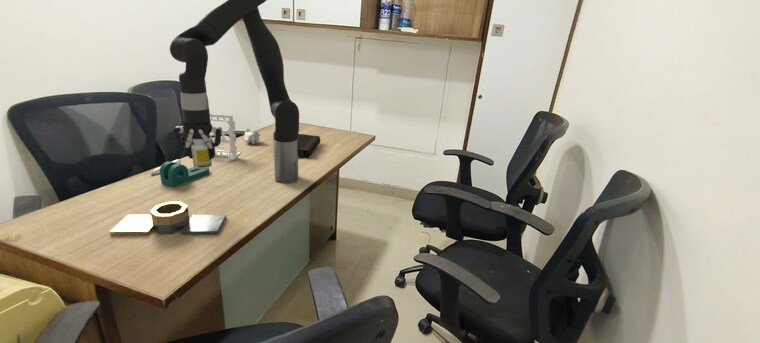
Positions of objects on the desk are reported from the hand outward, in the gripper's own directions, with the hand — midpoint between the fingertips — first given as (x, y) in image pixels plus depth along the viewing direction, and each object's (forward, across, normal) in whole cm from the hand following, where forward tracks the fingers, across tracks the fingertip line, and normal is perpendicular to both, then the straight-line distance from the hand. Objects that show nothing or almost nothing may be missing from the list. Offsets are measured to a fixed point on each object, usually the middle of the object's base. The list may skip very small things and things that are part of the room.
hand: (201, 157), depth 116 cm
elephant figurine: (+18, -1, -71) cm, 73 cm away
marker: (+18, +26, -32) cm, 45 cm away
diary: (+18, -25, -64) cm, 71 cm away
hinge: (+17, +6, +14) cm, 23 cm away
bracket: (+18, +14, -24) cm, 33 cm away
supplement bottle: (+3, 0, 0) cm, 3 cm away
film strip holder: (+18, +8, -50) cm, 54 cm away
